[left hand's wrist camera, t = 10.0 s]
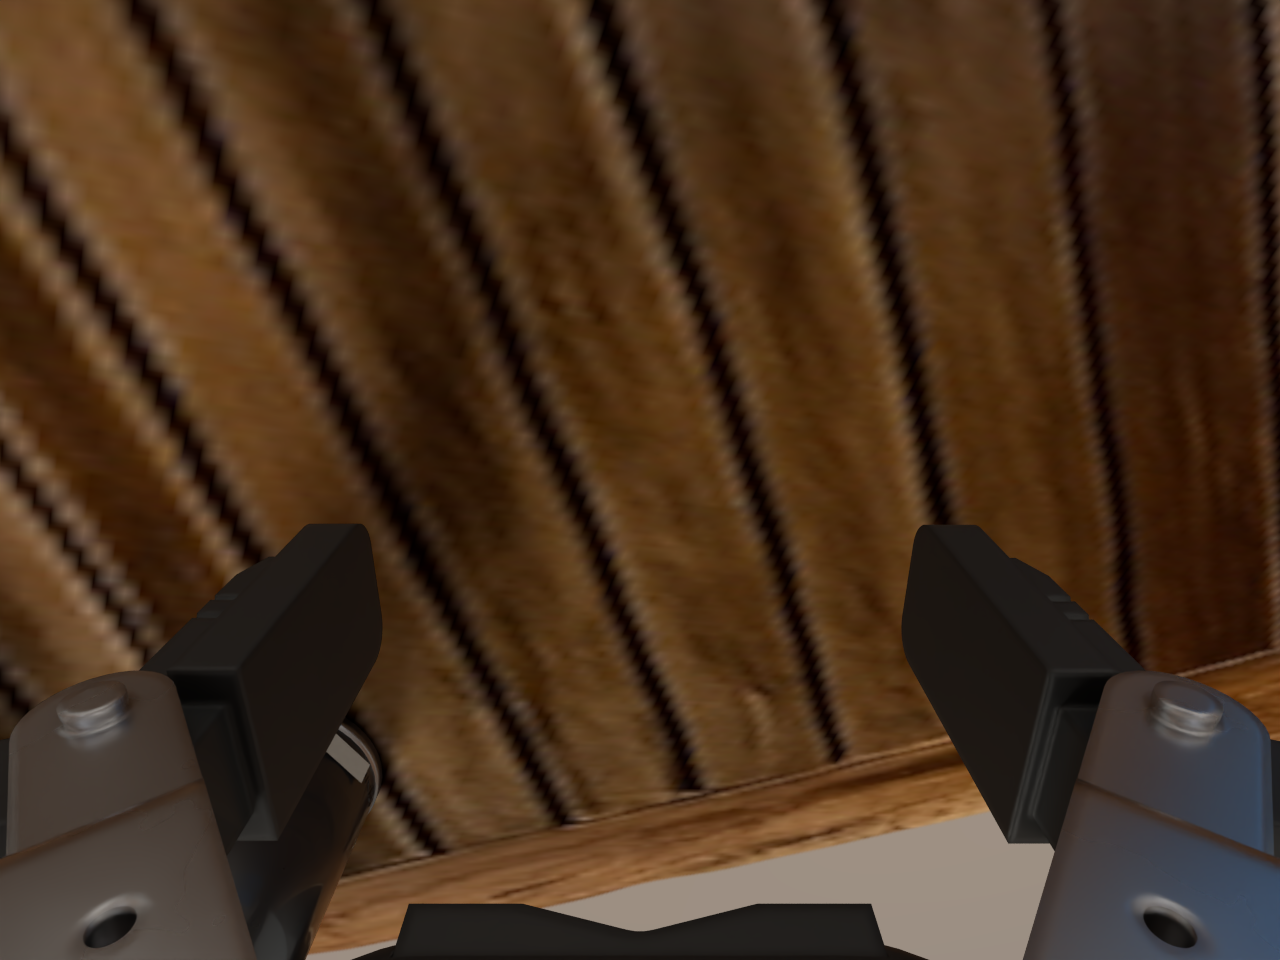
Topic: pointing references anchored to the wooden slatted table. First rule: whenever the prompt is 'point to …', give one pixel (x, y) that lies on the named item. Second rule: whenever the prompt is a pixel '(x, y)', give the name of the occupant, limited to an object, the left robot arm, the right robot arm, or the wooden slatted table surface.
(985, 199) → the wooden slatted table surface
